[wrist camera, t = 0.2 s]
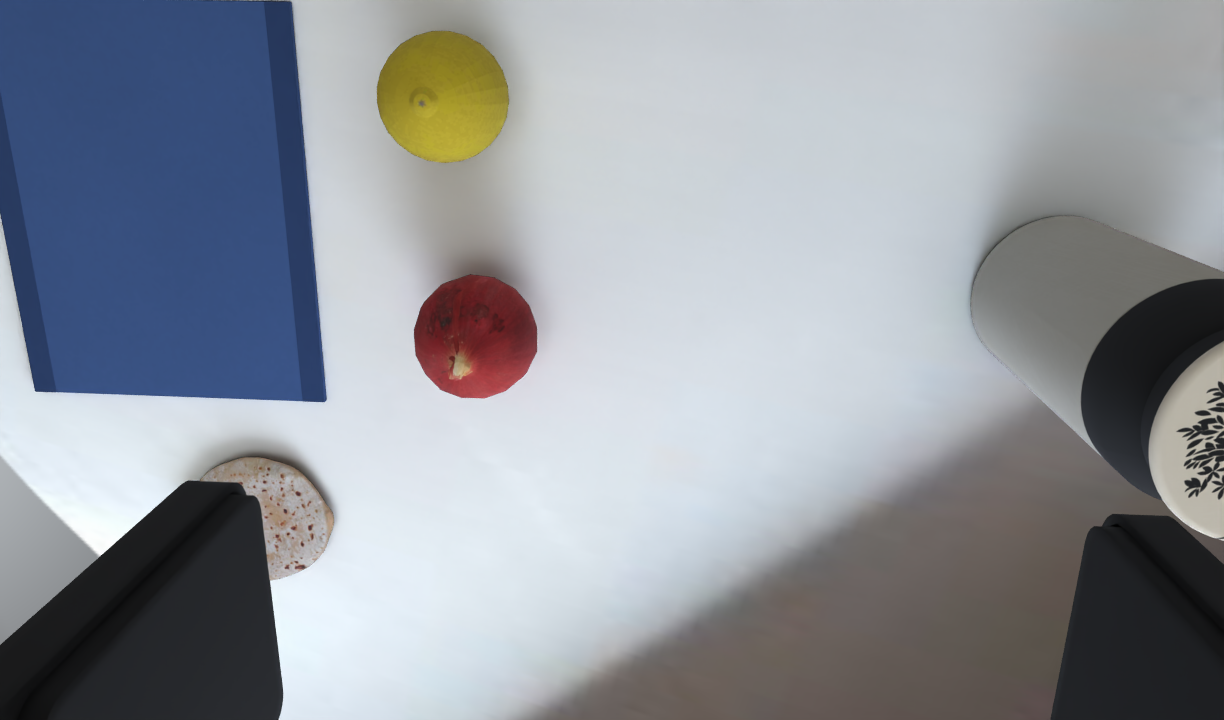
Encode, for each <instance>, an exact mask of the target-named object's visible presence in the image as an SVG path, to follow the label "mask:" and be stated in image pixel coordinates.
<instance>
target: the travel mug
mask: <svg viewBox="0 0 1224 720" xmlns="http://www.w3.org/2000/svg"><path fill="white" fill-rule="evenodd" d="M971 314H972V320H973V324H974V327H975V330H976V332H977V334H978V336H979V338H980V340H981V342H982V343H983V345H984V346H985V347H986V348H987V349H988V351H989V352H990V353H991V354H993V355H994V356H995V357H996V358H997V359H998V360H999V361H1000V362H1001V363H1002V364H1003V365H1004V366H1005V367H1006V368H1007V369H1009V370H1010V371H1011V372H1012V373H1013V374H1014V375H1015V376H1016V377H1017V378H1018V379H1019V380H1020V381H1021V382H1022V383H1023V384H1025V385H1026V386H1027V387H1028V388H1029V389H1030V390H1031V391H1032V392H1033V393H1034V394H1035V395H1036V396H1037V397H1038V398H1040V399H1041V400H1042V401H1043V402H1044V403H1045V404H1046V405H1047V406H1048V407H1049V408H1050V409H1051V410H1052V411H1053V412H1055V413H1056V414H1057V415H1058V416H1059V417H1060V418H1061V419H1062V420H1063V421H1064V422H1065V423H1066V424H1067V425H1068V426H1069V427H1071V428H1072V429H1073V430H1074V431H1075V432H1076V433H1077V434H1078V435H1079V436H1080V437H1081V438H1082V439H1083V440H1084V441H1086V442H1087V443H1088V444H1089V445H1090V446H1091V447H1092V448H1093V449H1094V450H1095V451H1096V452H1097V453H1098V454H1099V455H1101V456H1102V457H1103V458H1104V459H1105V460H1106V461H1107V462H1108V463H1109V464H1110V465H1111V466H1112V467H1113V468H1114V469H1115V470H1117V471H1118V472H1119V473H1120V474H1121V475H1122V476H1123V477H1124V478H1125V479H1126V480H1127V481H1128V482H1130V483H1131V484H1132V485H1133V486H1135V487H1136V488H1138V489H1139V490H1141V491H1143V492H1144V493H1146V494H1148V495H1150V496H1152V497H1155V498H1157V499H1160V500H1163V501H1164V502H1165V504H1166V505H1167V506H1168V508H1169V509H1170V510H1171V511H1172V512H1173V513H1174V514H1175V515H1176V516H1177V517H1178V518H1179V519H1181V520H1182V521H1183V522H1184V523H1186V524H1187V525H1189V526H1190V527H1192V528H1193V529H1195V530H1197V531H1199V532H1201V533H1203V534H1205V535H1208V536H1210V537H1213V538H1216V539H1220V540H1223V541H1224V272H1222V271H1220V270H1217V269H1215V268H1212V267H1210V266H1207V265H1205V264H1202V263H1200V262H1197V261H1195V260H1192V259H1190V258H1187V257H1185V256H1182V255H1180V254H1177V253H1175V252H1172V251H1170V250H1167V249H1165V248H1162V247H1160V246H1157V245H1154V244H1152V243H1149V242H1147V241H1144V240H1142V239H1139V238H1137V237H1134V236H1132V235H1129V234H1127V233H1124V232H1122V231H1119V230H1117V229H1114V228H1112V227H1109V226H1107V225H1104V224H1102V223H1099V222H1097V221H1094V220H1091V219H1087V218H1084V217H1077V216H1055V217H1048V218H1044V219H1040V220H1037V221H1034V222H1031V223H1029V224H1027V225H1024V226H1023V227H1021V228H1019V229H1017V230H1015V231H1014V232H1012V233H1011V234H1009V235H1008V236H1007V237H1006V238H1004V239H1003V240H1002V241H1001V242H1000V243H999V244H998V245H997V246H996V247H995V248H994V249H993V250H992V251H991V252H990V254H989V255H988V256H987V258H986V259H985V261H984V262H983V264H982V266H981V268H980V270H979V272H978V274H977V276H976V279H975V282H974V286H973V290H972V295H971Z"/></svg>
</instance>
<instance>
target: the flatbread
mask: <svg viewBox="0 0 1224 720" xmlns="http://www.w3.org/2000/svg"><path fill="white" fill-rule="evenodd" d="M200 481H212V482H238V483H239V484H241V485H242V486H243V488H244V490H245V492H246V495H254V496H255V497H257V499H258V501H259V503H260V507H261V512H262V520H263V529H264V537H265V545H266V553H267V562H268V570H269V578H270V580H275V579H281V578H284V577H287V576H290V575H292V574H295V573H298V572H300V571H302V570H304V569H305V568H307V567H309V566H310V565H312V564H313V563H314V562H315V561H316V560H317V559H318V558H319V557H320V555H321V554H322V553H323V552H324V550H325V548H326V546H327V543H328V540H329V537H330V534H331V531H332V528H333V524H334V516H333V513H332V511H331V510H330V508H329V507H328V506H327V504H326V503H325V502H324V500H323V499H322V497H321V495H320V494H319V493H318V491H317V489H316V488H315V487H314V486H313V485H312V483H311V482H310V481H309V480H308V479H307V478H306V477H305V476H304V475H303V474H302V473H301V472H300V471H298V470H297V469H295V468H294V467H291V466H289V465H286V464H283V463H281V462H277V461H273V460H270V459H265V458H260V457H244V458H240V459H236V460H232V461H229V462H227V463H224V464H221V465H219V466H217V467H215V468H213V469H212V470H210V471H209V472H207V473H206V474H205V475H204V476H203V477H202V478H201V480H200Z"/></svg>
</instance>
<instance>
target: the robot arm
mask: <svg viewBox="0 0 1224 720" xmlns="http://www.w3.org/2000/svg"><path fill="white" fill-rule="evenodd" d="M282 702H283V686H282V677H281V669H280V661H279V653H278V644H277V636H276V628H275V620H274V611H273V603H272V595H271V587H270V578H269V570H268V562H267V553H266V545H265V537H264V529H263V520H262V512H261V507H260V503H259V501H258V499H257V497H255V496H254V495H246V492H245V490H244V488H243V486H242V485H241V484H239V483H238V482H212V481H186V482H185V483H183V484H181V485H180V486H179V487H178V488H177V489H176V490H175V491H173V492H172V493H171V494H170V495H169V496H168V497H167V498H166V499H164V500H163V501H162V502H161V503H160V504H159V505H158V506H157V507H155V508H154V509H153V510H152V511H151V512H150V513H149V514H148V515H146V516H145V517H144V518H143V519H142V520H141V521H140V522H138V523H137V524H136V525H135V526H134V527H133V528H132V529H131V530H129V531H128V532H127V533H126V534H125V535H124V536H123V537H122V538H120V539H119V540H118V541H117V542H116V543H115V544H114V545H113V546H111V547H110V548H109V549H108V550H107V551H106V552H105V553H103V554H102V555H101V556H100V557H99V558H98V559H97V560H96V561H95V562H93V563H92V564H91V565H90V566H89V567H88V568H87V569H85V570H84V571H83V572H82V573H81V574H80V575H79V576H78V577H77V578H75V579H74V580H73V581H72V582H71V583H70V584H69V585H68V586H66V587H65V588H64V589H63V590H62V591H61V592H59V593H58V594H57V595H56V596H55V597H54V598H53V599H52V600H50V602H48V603H47V604H46V605H45V606H44V607H43V608H41V609H40V610H39V611H38V612H37V613H36V614H35V615H34V616H32V617H31V618H30V619H29V620H28V621H27V622H26V623H25V624H23V625H22V626H21V627H20V628H19V629H18V630H17V631H16V632H14V633H13V634H12V635H11V636H10V637H9V638H8V639H6V640H5V641H4V642H3V643H2V644H1V645H0V720H278V719H279V716H280V713H281V708H282ZM1051 720H1224V564H1223V563H1221V562H1220V561H1219V560H1218V559H1217V558H1216V557H1215V556H1214V555H1213V554H1212V553H1211V552H1209V551H1208V550H1207V549H1206V548H1205V547H1204V546H1203V545H1202V544H1201V543H1200V542H1199V541H1198V540H1196V539H1195V538H1194V537H1193V536H1192V535H1191V534H1190V533H1189V532H1188V531H1187V530H1186V529H1184V528H1183V527H1182V526H1181V525H1180V524H1179V523H1178V522H1177V521H1176V520H1174V519H1173V518H1171V517H1169V516H1154V515H1126V514H1112V515H1110V516H1109V517H1107V519H1106V520H1105V522H1104V523H1103V525H1102V527H1099V526H1094V527H1093V528H1091V529H1090V531H1089V532H1088V534H1087V537H1086V541H1085V545H1084V550H1083V556H1082V561H1081V566H1080V571H1079V576H1078V581H1077V586H1076V591H1075V597H1074V602H1073V607H1072V612H1071V617H1070V622H1069V627H1068V632H1067V638H1066V643H1065V648H1064V653H1063V658H1062V663H1061V668H1060V673H1059V679H1058V684H1057V689H1056V694H1055V699H1054V704H1053V709H1052V714H1051Z"/></svg>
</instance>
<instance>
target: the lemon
mask: <svg viewBox="0 0 1224 720" xmlns="http://www.w3.org/2000/svg"><path fill="white" fill-rule="evenodd" d="M377 104H378V108H379V112H380V116H381V119H382V121H383V123H384V125H385V127H386V129H387V131H388V133H389V134H390V135H391V136H392V137H393V138H394V140H395V141H396V142H397V143H398V144H399V145H400V146H402V147H403V148H404V149H406V150H407V151H408V152H410V153H411V154H413V155H415V156H418V157H420V158H423V159H425V160H428V161H434V162H441V163H448V162H457V161H463V160H465V159H468V158H470V157H473V156H476V155H477V154H479V153H480V152H481V151H483V150H484V149H485V148H487V147H488V146H489V145H491V143H492V142H493V141H494V139H495V138H496V137H497V136H498V134H499V133H500V131H501V129H502V127H503V124H504V122H505V120H506V118H507V111H508V105H509V97H508V86H507V83H506V79H505V76H504V73H503V70H502V69H501V67H500V66H499V64H498V62H497V61H496V59H495V58H494V56H493V55H492V54H491V53H490V52H489V51H488V50H487V49H486V48H485V47H484V46H483V45H481V44H480V43H478V42H476V41H475V40H473V39H471V38H469V37H468V36H465V35H462V34H458V33H455V32H451V31H431V32H427V33H423V34H419V35H416V36H414V37H412V38H410V39H409V40H407V41H405V42H404V43H402V44H400V45H399V47H398V48H397V49H396V50H395V51H394V52H393V53H392V54H391V55H390V56H389V57H388V59H387V61H386V63H385V65H384V66H383V68H382V70H381V72H380V76H379V81H378V85H377Z"/></svg>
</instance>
